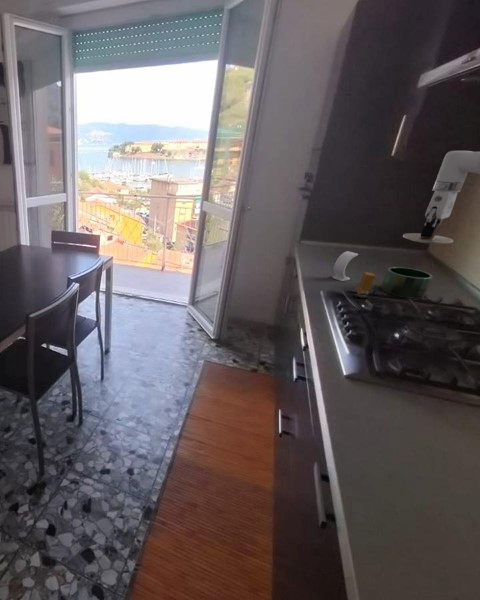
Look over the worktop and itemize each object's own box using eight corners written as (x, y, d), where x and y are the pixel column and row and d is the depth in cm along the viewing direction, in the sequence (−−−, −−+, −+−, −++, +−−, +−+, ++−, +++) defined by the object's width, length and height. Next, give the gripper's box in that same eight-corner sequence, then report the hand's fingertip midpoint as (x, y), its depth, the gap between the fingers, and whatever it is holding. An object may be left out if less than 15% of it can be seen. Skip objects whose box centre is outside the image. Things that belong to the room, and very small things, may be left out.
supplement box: (367, 299, 139) (376, 275, 135) (357, 298, 140) (365, 274, 136) (365, 296, 142) (373, 272, 138) (354, 295, 143) (362, 271, 139)
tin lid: (458, 241, 137) (465, 224, 134) (444, 247, 130) (451, 229, 127) (410, 234, 148) (416, 218, 145) (395, 239, 141) (401, 222, 138)
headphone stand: (349, 279, 159) (358, 253, 154) (340, 281, 157) (348, 255, 152) (339, 276, 163) (347, 251, 158) (330, 278, 161) (337, 252, 156)
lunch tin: (429, 294, 143) (438, 274, 140) (415, 301, 137) (424, 280, 134) (389, 283, 154) (396, 265, 151) (374, 290, 148) (381, 270, 144)
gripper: (452, 189, 124) (432, 240, 131) (469, 186, 132) (448, 235, 139) (425, 187, 130) (407, 236, 137) (442, 184, 138) (424, 231, 145)
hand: (428, 235), depth 138 cm, fingers closed on tin lid, 4 cm apart
